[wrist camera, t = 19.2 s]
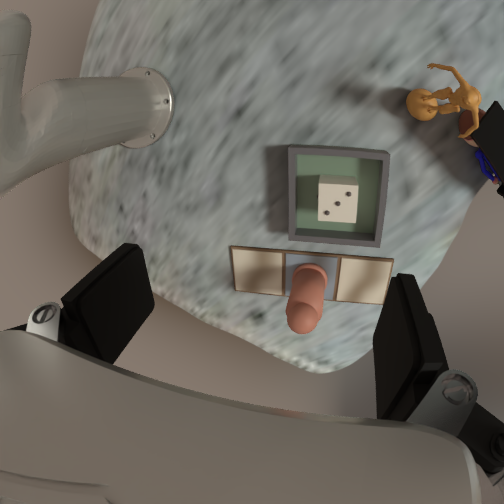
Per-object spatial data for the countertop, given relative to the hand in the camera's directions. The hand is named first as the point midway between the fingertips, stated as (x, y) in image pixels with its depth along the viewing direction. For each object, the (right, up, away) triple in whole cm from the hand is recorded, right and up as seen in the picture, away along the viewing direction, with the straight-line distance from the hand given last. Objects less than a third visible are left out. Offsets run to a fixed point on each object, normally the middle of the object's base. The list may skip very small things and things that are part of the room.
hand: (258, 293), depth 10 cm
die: (+11, +9, +25) cm, 29 cm away
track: (+9, -2, +33) cm, 34 cm away
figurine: (+21, +20, +17) cm, 33 cm away
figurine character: (+32, +15, +17) cm, 39 cm away
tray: (+11, +9, +26) cm, 29 cm away
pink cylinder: (+8, -2, +32) cm, 33 cm away
